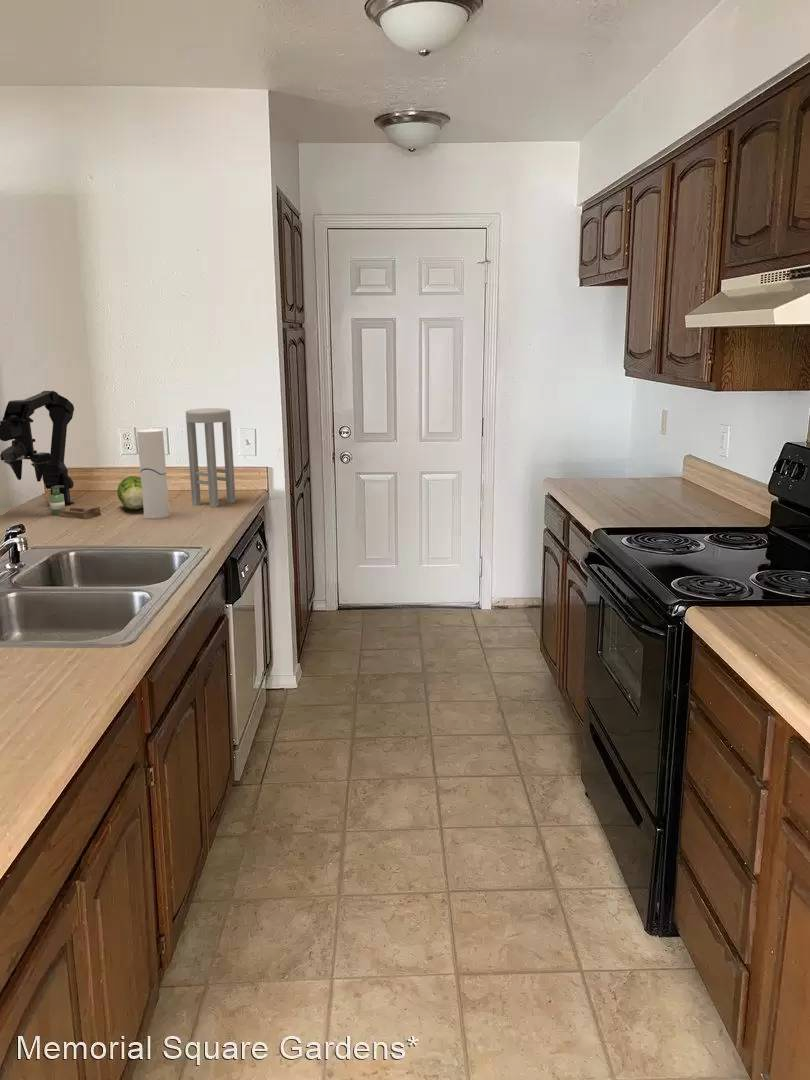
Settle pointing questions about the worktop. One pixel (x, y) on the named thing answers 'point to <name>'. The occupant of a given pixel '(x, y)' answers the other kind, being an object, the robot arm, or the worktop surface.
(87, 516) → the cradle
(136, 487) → the lettuce
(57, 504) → the bottle
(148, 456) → the container
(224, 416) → the stool
